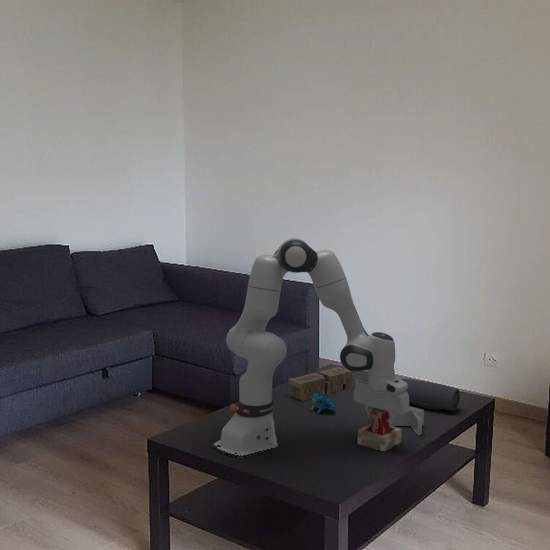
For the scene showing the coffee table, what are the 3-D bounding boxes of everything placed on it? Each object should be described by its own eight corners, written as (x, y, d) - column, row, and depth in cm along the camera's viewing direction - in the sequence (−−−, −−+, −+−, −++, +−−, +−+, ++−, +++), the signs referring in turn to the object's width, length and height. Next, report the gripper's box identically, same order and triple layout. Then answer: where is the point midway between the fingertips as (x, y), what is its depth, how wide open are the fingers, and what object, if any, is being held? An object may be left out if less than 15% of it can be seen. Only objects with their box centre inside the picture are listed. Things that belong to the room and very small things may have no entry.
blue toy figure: (342, 409, 274) (326, 394, 269) (334, 422, 272) (318, 407, 267) (323, 404, 283) (307, 390, 278) (316, 417, 281) (300, 403, 276)
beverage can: (388, 447, 243) (389, 413, 241) (369, 446, 244) (370, 412, 242) (388, 440, 249) (389, 406, 247) (370, 439, 250) (371, 405, 248)
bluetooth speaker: (459, 409, 279) (461, 384, 277) (451, 416, 271) (452, 391, 269) (404, 398, 291) (405, 374, 289) (395, 405, 283) (395, 380, 282)
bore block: (384, 452, 239) (384, 437, 238) (357, 443, 246) (357, 429, 245) (401, 442, 247) (401, 428, 246) (375, 434, 253) (375, 421, 253)
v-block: (419, 437, 251) (420, 420, 250) (383, 426, 261) (384, 410, 260) (434, 429, 259) (434, 413, 258) (398, 418, 268) (399, 403, 267)
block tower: (340, 385, 310) (287, 397, 292) (341, 366, 309) (288, 377, 291) (353, 389, 304) (300, 402, 286) (354, 370, 303) (301, 381, 285)
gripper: (350, 376, 247) (349, 415, 249) (402, 389, 233) (400, 430, 236) (361, 372, 252) (360, 410, 254) (412, 385, 238) (411, 425, 240)
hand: (380, 420), depth 245 cm, fingers closed on beverage can, 6 cm apart
